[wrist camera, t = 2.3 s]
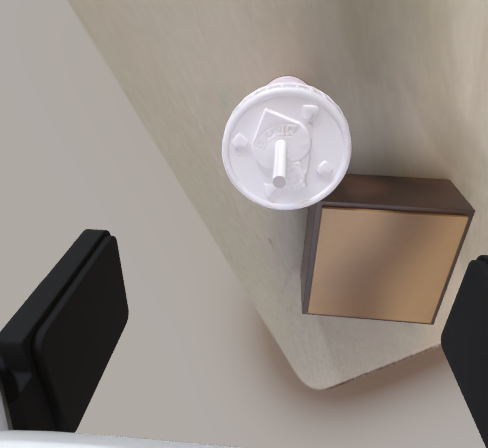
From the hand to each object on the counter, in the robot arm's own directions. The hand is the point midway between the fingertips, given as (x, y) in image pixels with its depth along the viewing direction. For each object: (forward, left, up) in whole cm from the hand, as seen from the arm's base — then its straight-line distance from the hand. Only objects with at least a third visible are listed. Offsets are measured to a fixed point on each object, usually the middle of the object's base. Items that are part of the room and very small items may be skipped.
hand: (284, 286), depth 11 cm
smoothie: (0, 0, -20) cm, 20 cm away
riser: (-7, +10, -20) cm, 23 cm away
